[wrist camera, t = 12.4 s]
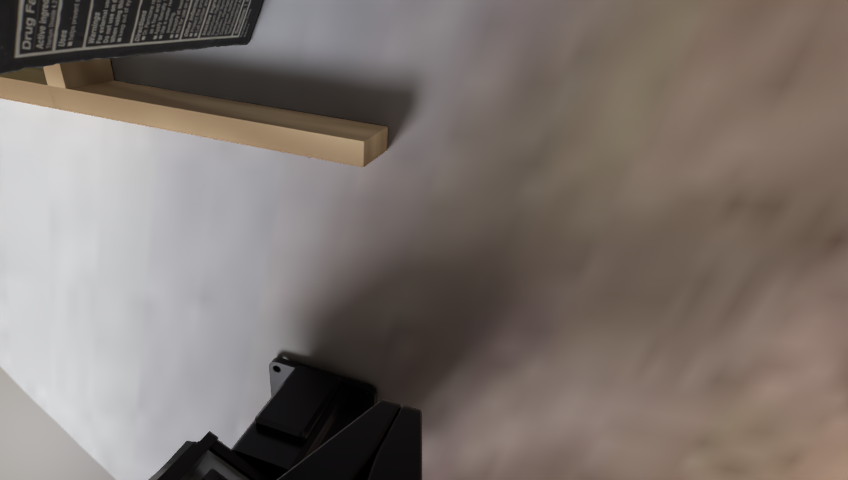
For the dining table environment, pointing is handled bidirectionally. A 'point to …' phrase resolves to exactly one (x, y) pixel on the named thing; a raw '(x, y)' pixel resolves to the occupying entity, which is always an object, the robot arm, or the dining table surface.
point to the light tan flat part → (194, 113)
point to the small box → (116, 28)
